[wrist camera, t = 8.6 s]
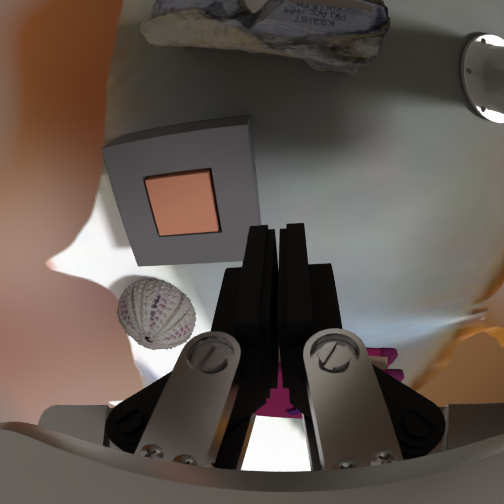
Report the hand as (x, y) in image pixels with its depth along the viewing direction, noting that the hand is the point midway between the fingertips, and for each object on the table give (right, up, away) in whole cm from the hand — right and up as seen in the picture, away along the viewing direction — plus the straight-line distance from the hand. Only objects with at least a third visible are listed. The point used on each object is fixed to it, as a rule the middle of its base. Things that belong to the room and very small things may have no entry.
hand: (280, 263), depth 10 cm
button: (-8, +7, +25) cm, 28 cm away
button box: (-8, +9, +28) cm, 30 cm away
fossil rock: (0, +25, +16) cm, 30 cm away
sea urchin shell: (-16, -8, +40) cm, 44 cm away
